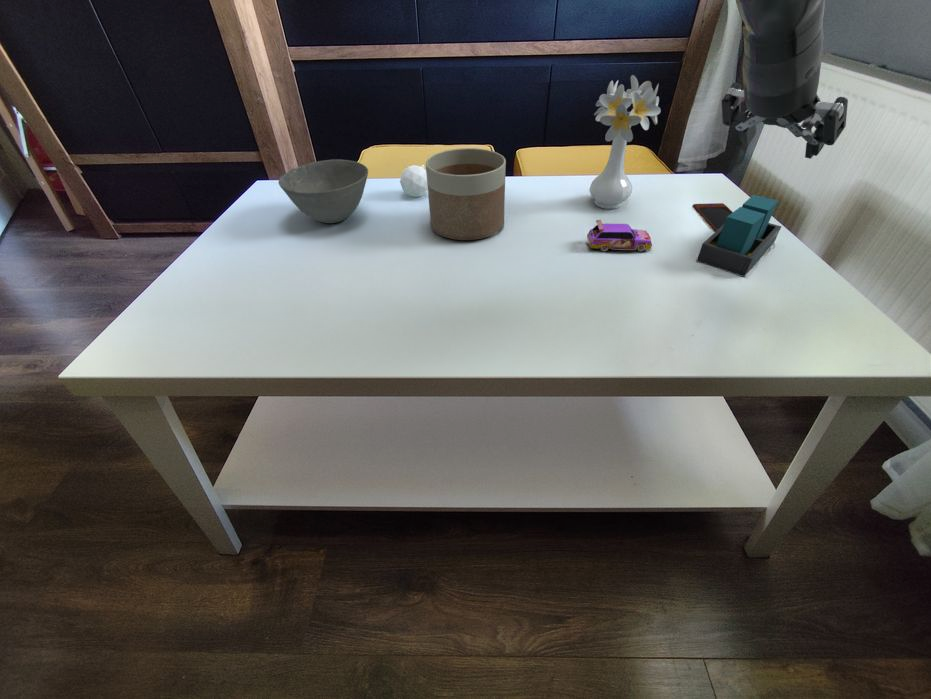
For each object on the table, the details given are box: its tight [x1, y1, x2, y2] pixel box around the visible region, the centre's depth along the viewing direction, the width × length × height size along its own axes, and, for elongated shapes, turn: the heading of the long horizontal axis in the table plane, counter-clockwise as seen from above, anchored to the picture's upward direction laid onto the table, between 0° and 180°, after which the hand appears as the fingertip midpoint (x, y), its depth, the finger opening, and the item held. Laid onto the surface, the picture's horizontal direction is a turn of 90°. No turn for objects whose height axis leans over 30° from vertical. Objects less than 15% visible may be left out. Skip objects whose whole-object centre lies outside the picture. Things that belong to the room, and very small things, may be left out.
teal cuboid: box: [741, 194, 779, 239], centre depth 86 cm, size 4×6×8 cm
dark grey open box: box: [696, 222, 782, 277], centre depth 86 cm, size 9×16×4 cm, turn 137°
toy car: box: [586, 219, 653, 253], centre depth 88 cm, size 6×12×5 cm, turn 86°
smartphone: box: [692, 202, 734, 233], centre depth 97 cm, size 7×1×15 cm
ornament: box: [399, 164, 428, 198], centre depth 109 cm, size 7×7×8 cm
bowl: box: [278, 158, 369, 224], centre depth 100 cm, size 19×19×10 cm
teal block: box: [716, 206, 766, 255], centre depth 82 cm, size 4×6×8 cm
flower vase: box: [588, 74, 662, 210], centre depth 96 cm, size 13×18×25 cm
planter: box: [425, 147, 507, 241], centre depth 94 cm, size 16×16×14 cm
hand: (779, 145), depth 65 cm, fingers open, 8 cm apart
